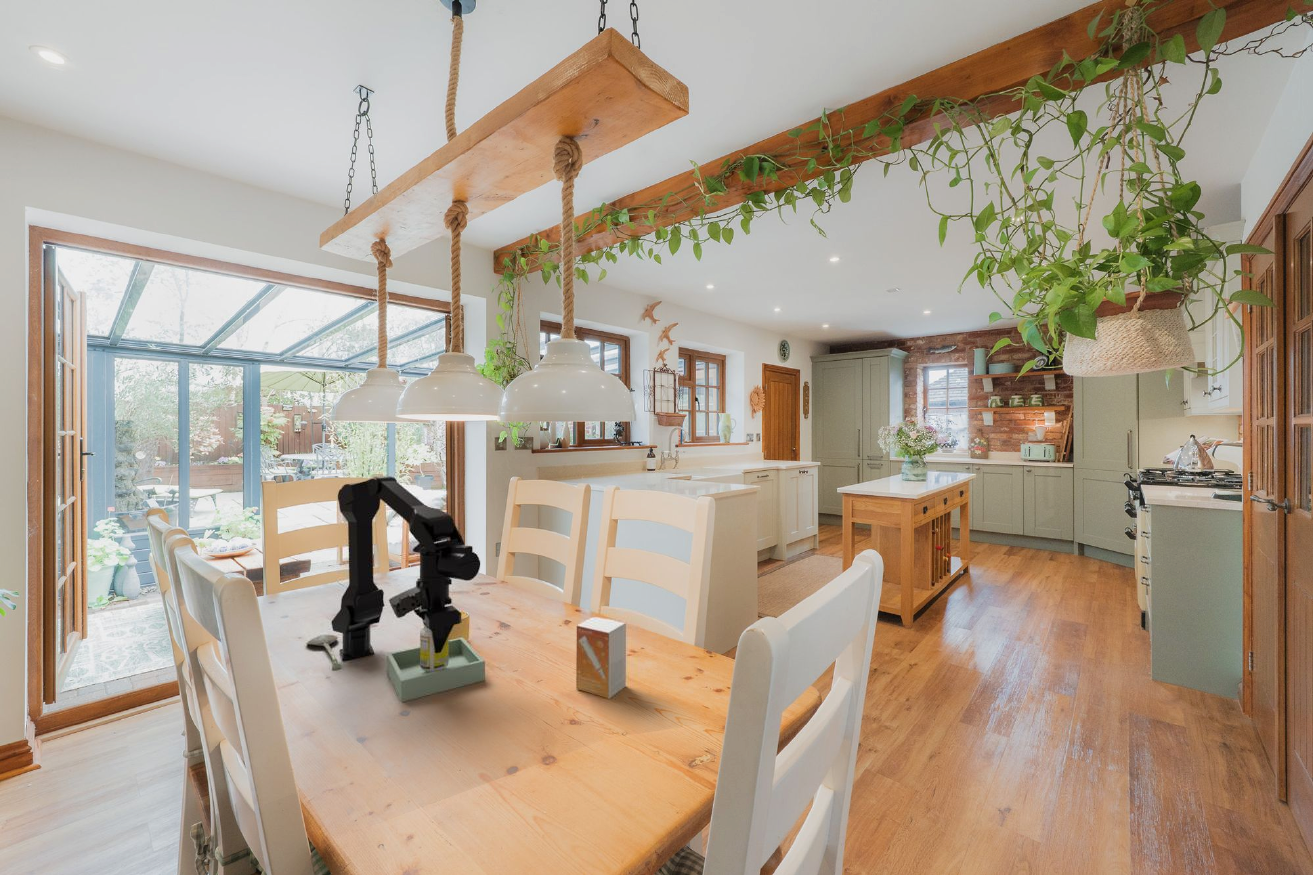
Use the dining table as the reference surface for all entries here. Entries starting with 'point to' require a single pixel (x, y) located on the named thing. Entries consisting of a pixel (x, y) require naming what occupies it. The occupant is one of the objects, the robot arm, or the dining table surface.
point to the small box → (601, 656)
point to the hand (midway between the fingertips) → (434, 648)
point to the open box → (419, 683)
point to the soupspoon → (326, 646)
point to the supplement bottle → (432, 652)
